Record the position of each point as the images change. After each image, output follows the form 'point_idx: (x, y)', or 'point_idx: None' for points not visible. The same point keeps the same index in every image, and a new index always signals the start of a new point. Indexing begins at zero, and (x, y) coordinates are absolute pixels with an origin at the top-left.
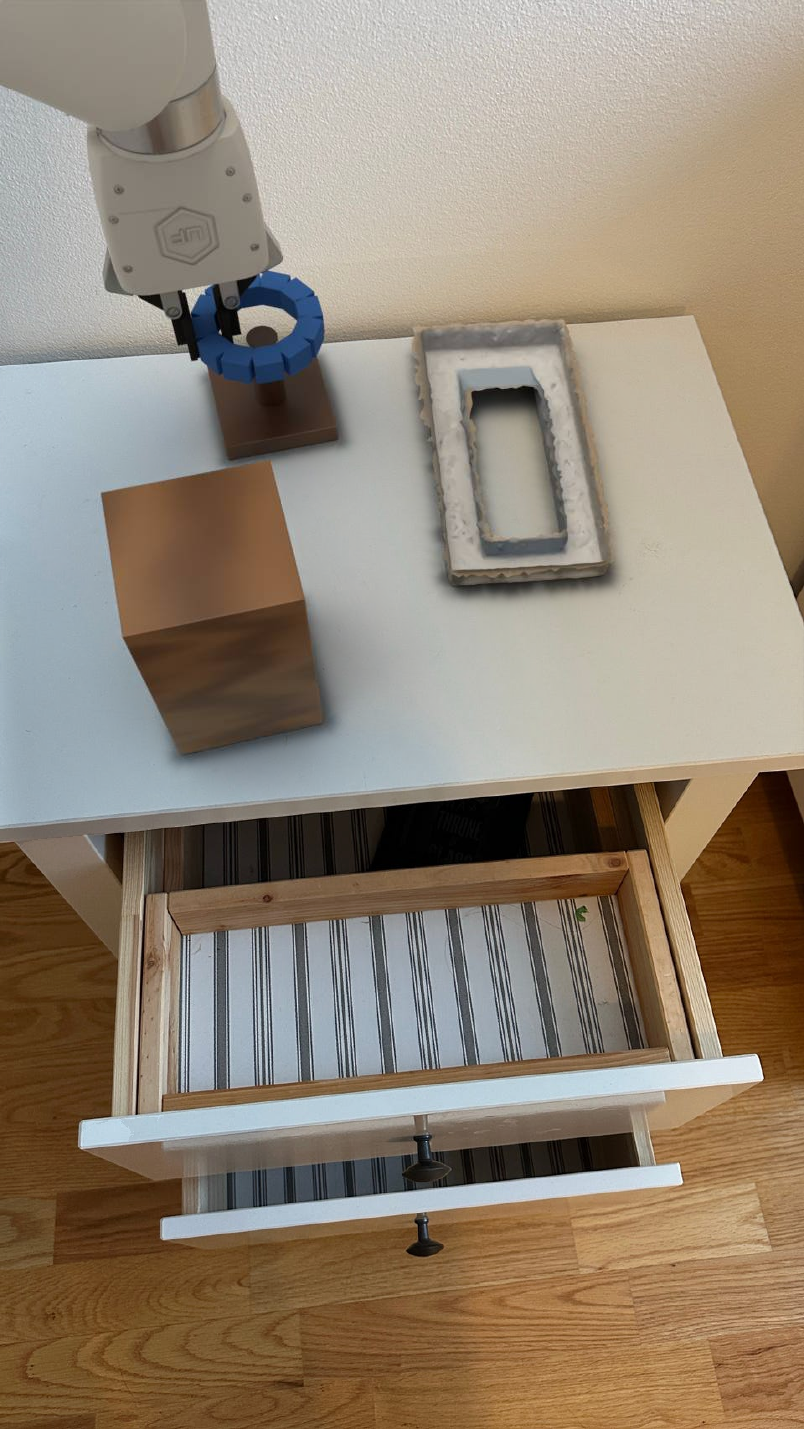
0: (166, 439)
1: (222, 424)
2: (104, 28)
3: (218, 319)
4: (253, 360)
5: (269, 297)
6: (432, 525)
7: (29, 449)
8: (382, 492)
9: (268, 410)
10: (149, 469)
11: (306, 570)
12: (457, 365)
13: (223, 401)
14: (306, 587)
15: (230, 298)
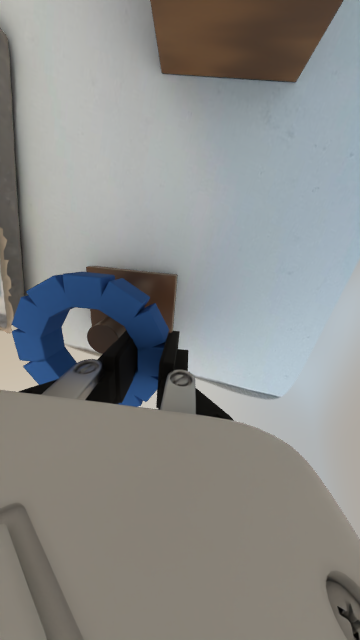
0: (214, 309)
1: (172, 299)
2: None
3: (135, 367)
4: (100, 288)
5: None
6: (26, 140)
7: (307, 333)
8: (66, 197)
9: None
10: (235, 286)
11: (142, 122)
12: (1, 301)
13: (166, 320)
14: (146, 97)
15: (85, 373)
